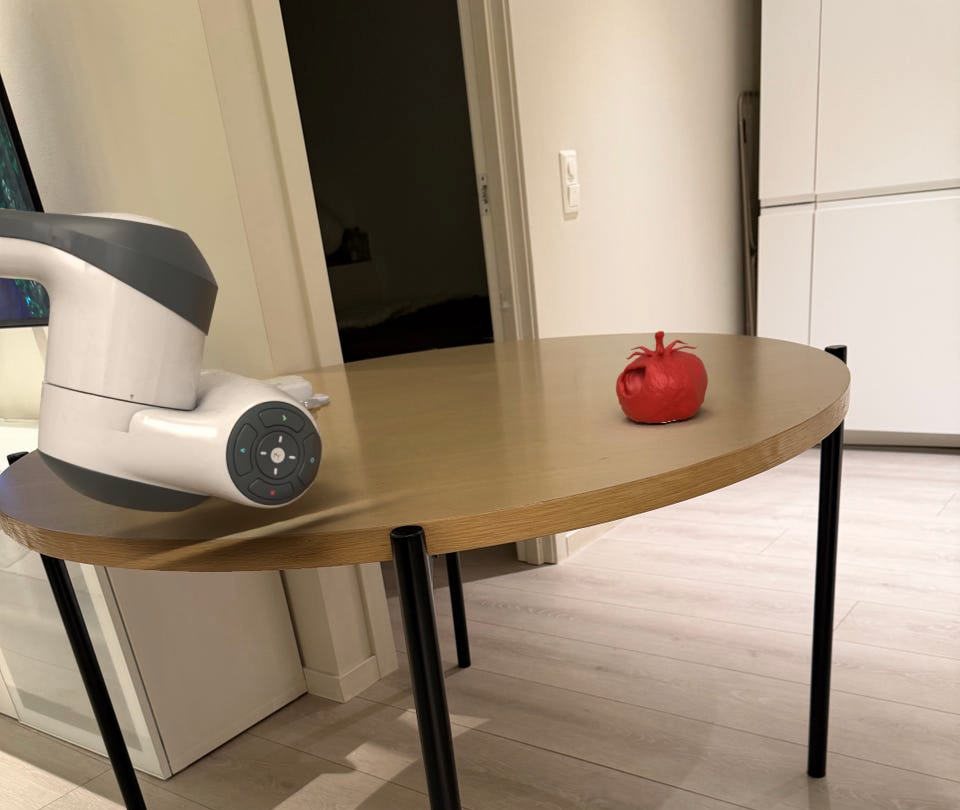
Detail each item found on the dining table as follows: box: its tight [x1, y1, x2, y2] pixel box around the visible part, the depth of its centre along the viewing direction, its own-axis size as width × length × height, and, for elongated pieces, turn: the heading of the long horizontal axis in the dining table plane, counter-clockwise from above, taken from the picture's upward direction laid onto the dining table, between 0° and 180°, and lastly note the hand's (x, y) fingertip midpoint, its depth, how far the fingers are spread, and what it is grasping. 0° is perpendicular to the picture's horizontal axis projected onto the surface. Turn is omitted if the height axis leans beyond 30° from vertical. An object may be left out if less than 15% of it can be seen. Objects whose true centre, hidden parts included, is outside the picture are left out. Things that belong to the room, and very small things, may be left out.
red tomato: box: [615, 330, 709, 424], centre depth 97 cm, size 10×10×9 cm
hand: (181, 409), depth 83 cm, fingers closed
